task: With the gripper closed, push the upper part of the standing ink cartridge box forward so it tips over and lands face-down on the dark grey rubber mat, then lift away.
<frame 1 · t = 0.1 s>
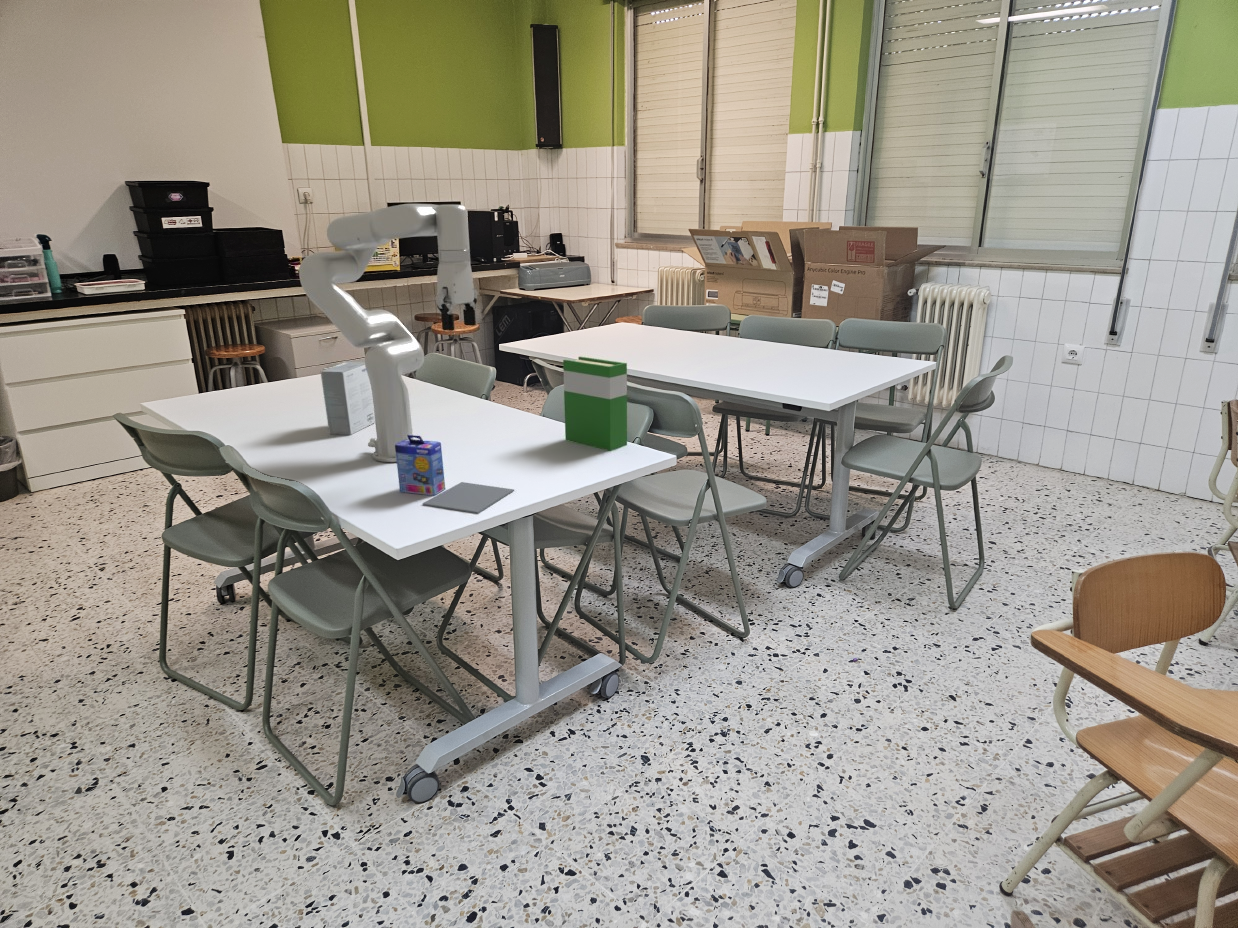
hand: (459, 327, 192), 37 cm above the table, tool pointing down, fingers open, 9 cm apart
mat: (469, 497, 180), on the table
hard drive box: (352, 429, 240), on the table
ink cartridge box: (422, 491, 185), on the table
hardback book: (595, 443, 223), on the table
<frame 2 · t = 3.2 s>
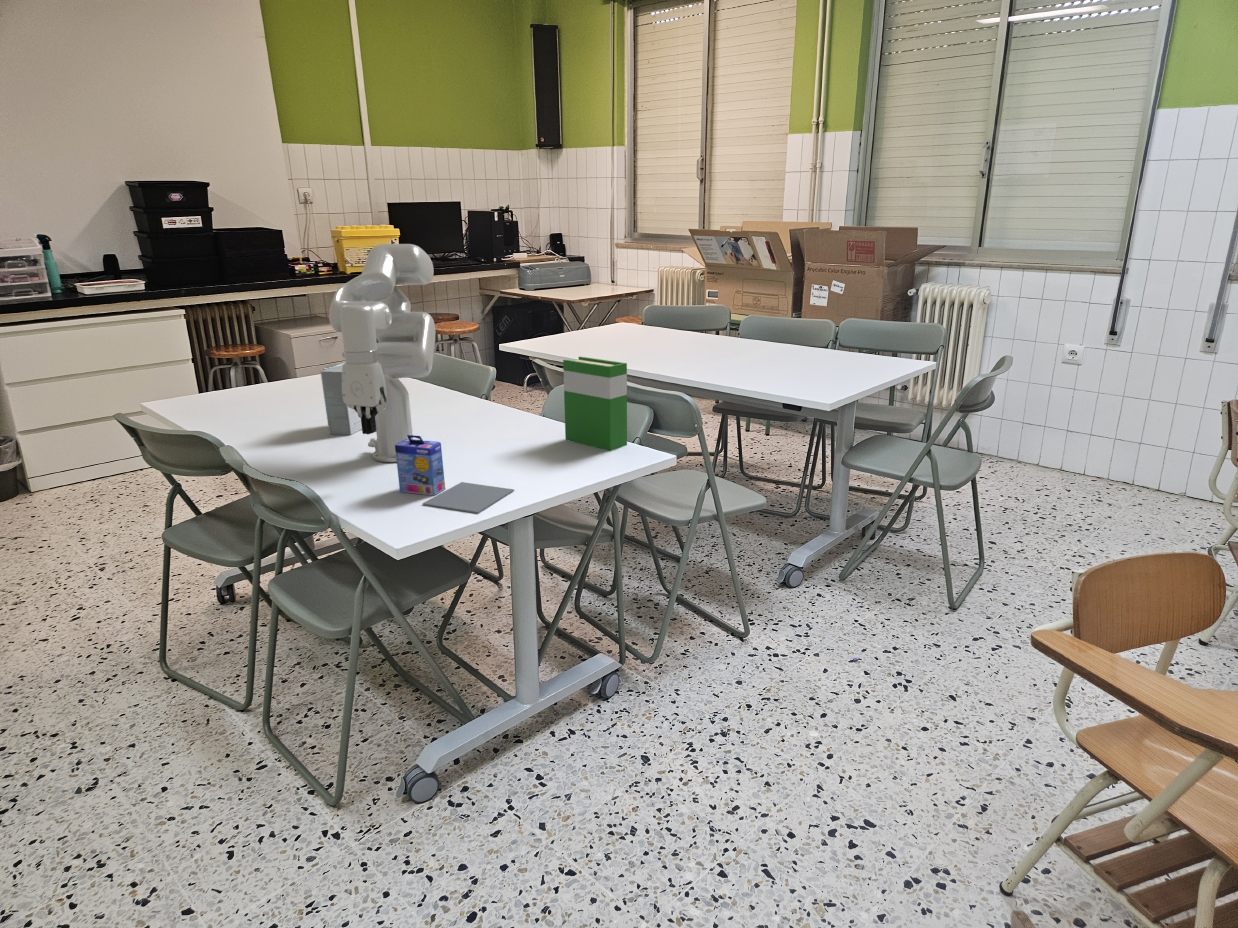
hand: (369, 432, 185), 13 cm above the table, tool pointing down, fingers closed
nothing on the table moved.
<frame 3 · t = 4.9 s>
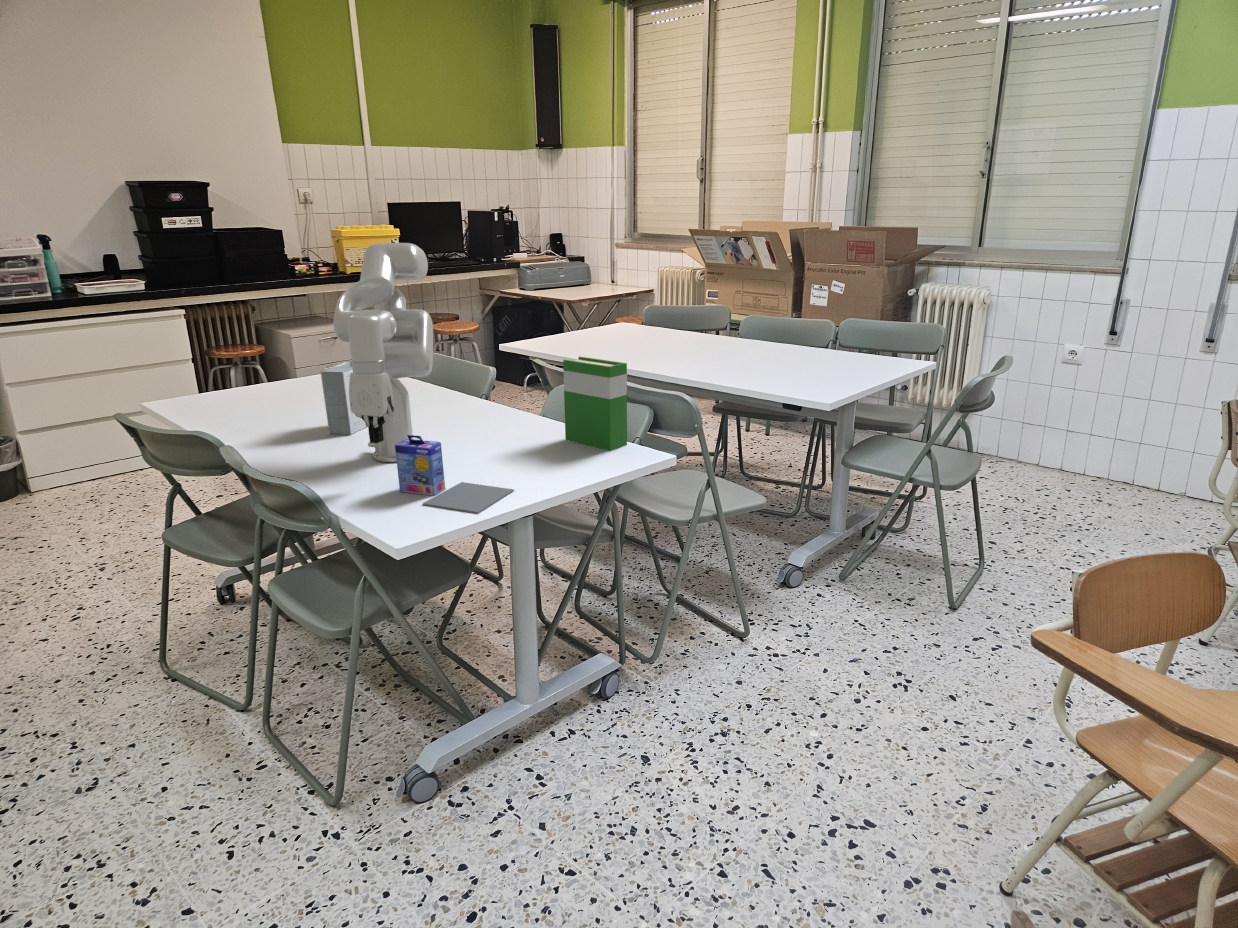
hand: (377, 441, 186), 11 cm above the table, tool pointing down, fingers closed
nothing on the table moved.
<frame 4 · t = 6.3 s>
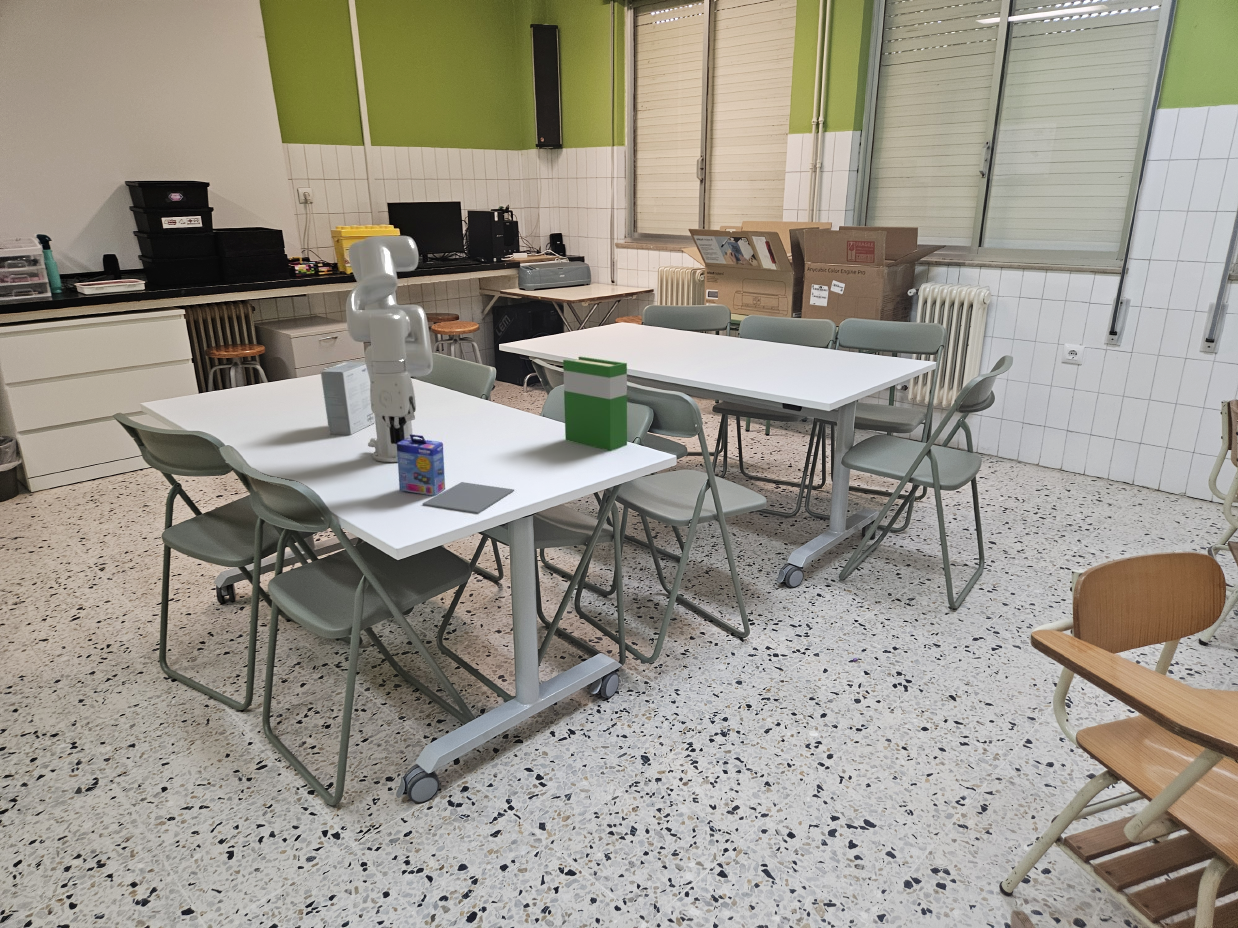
hand: (397, 442, 183), 12 cm above the table, tool pointing down, fingers closed
ink cartridge box: (422, 490, 185), on the table, touching gripper
everything else where it was.
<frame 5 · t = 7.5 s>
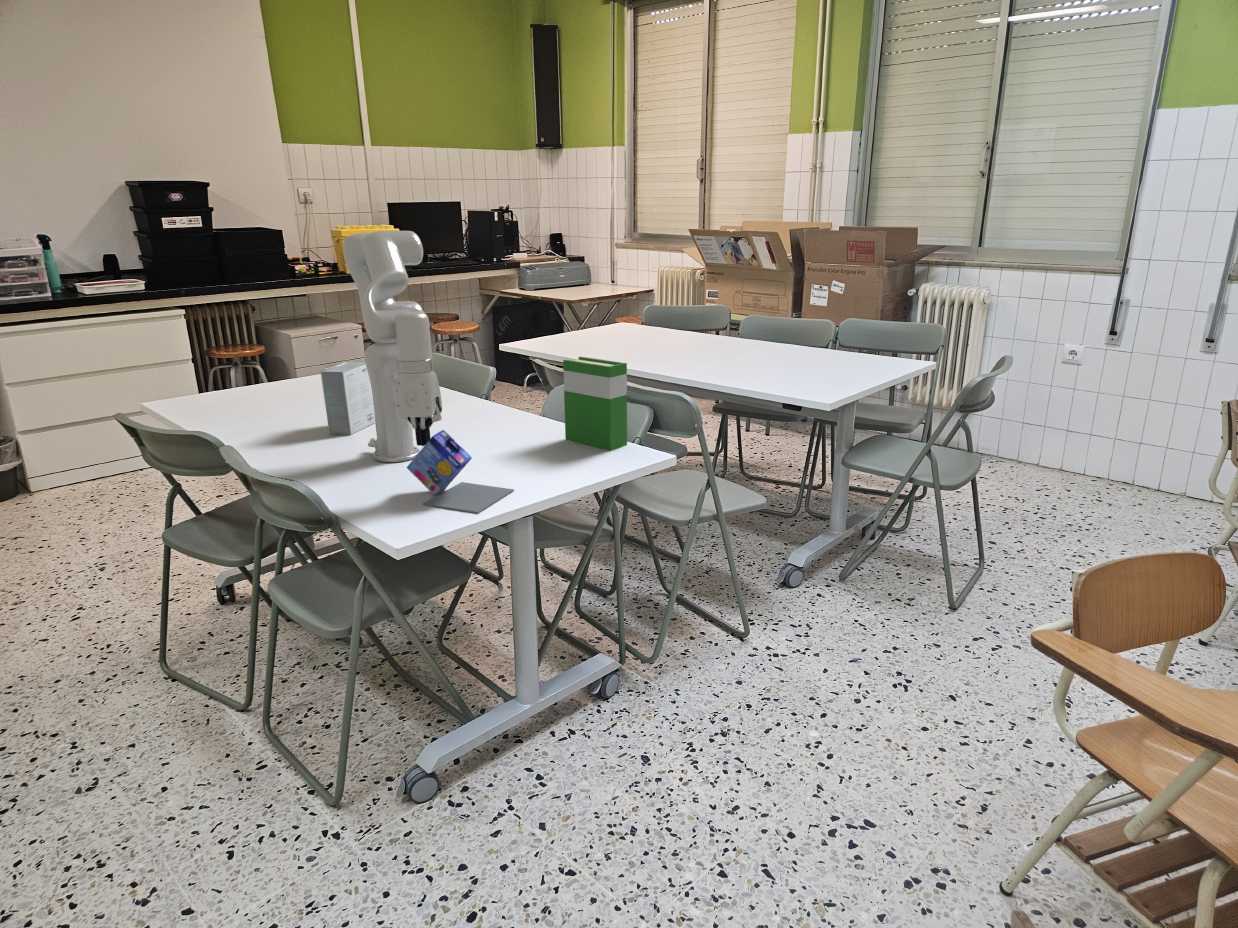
hand: (423, 444, 179), 12 cm above the table, tool pointing down, fingers closed
ink cartridge box: (425, 479, 183), point 3 cm above the table, touching gripper
everything else where it was.
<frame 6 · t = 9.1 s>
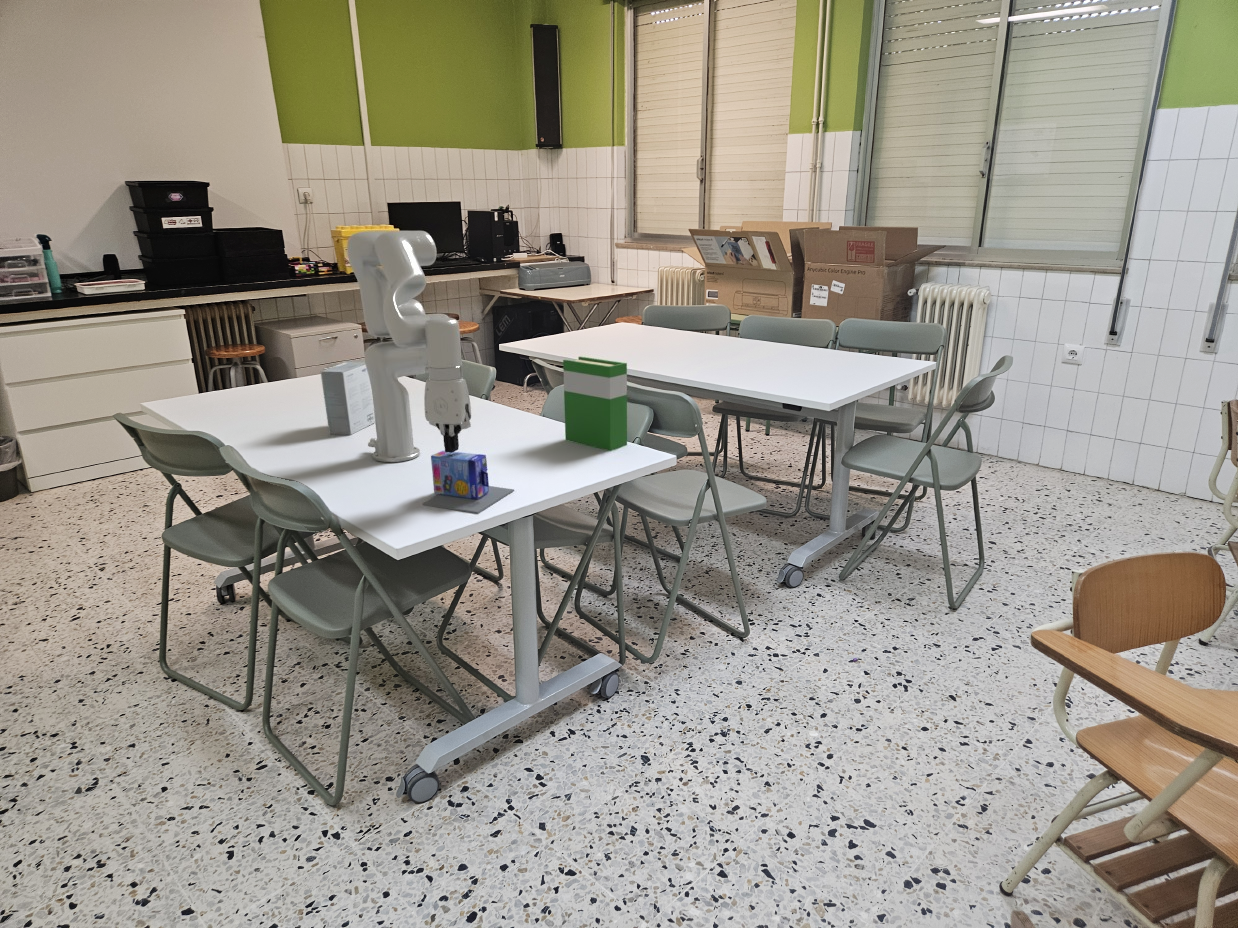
hand: (451, 450, 178), 11 cm above the table, tool pointing down, fingers closed
ink cartridge box: (437, 472, 182), point 5 cm above the table, touching mat
everything else where it was.
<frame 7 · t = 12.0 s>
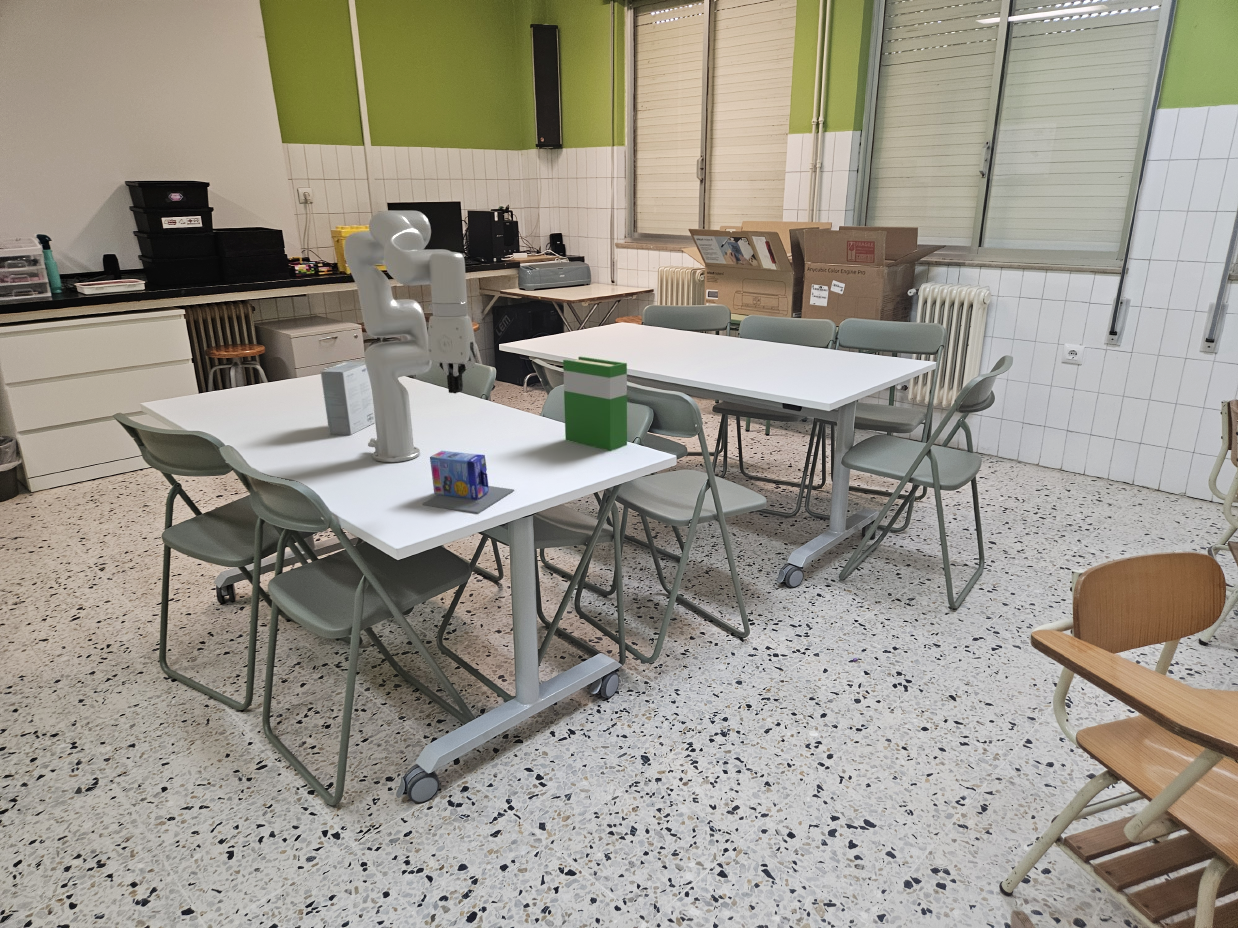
hand: (455, 391, 173), 25 cm above the table, tool pointing down, fingers closed
nothing on the table moved.
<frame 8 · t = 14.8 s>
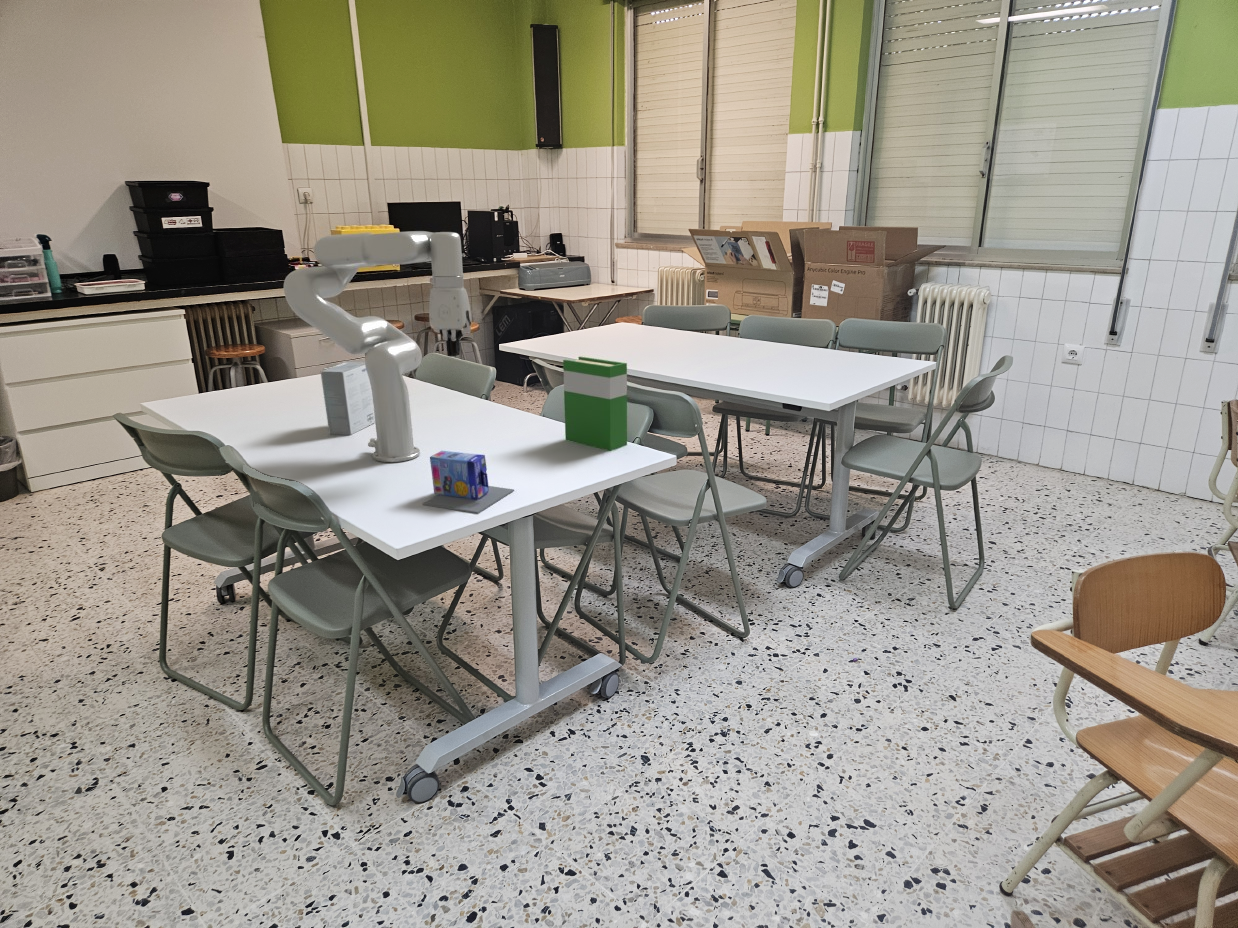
hand: (453, 355, 197), 29 cm above the table, tool pointing down, fingers closed
nothing on the table moved.
at the end: ink cartridge box tilted 89°; ink cartridge box touching mat; ink cartridge box inside the target area (3.4 cm from its centre), point 5.2 cm above the table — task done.
